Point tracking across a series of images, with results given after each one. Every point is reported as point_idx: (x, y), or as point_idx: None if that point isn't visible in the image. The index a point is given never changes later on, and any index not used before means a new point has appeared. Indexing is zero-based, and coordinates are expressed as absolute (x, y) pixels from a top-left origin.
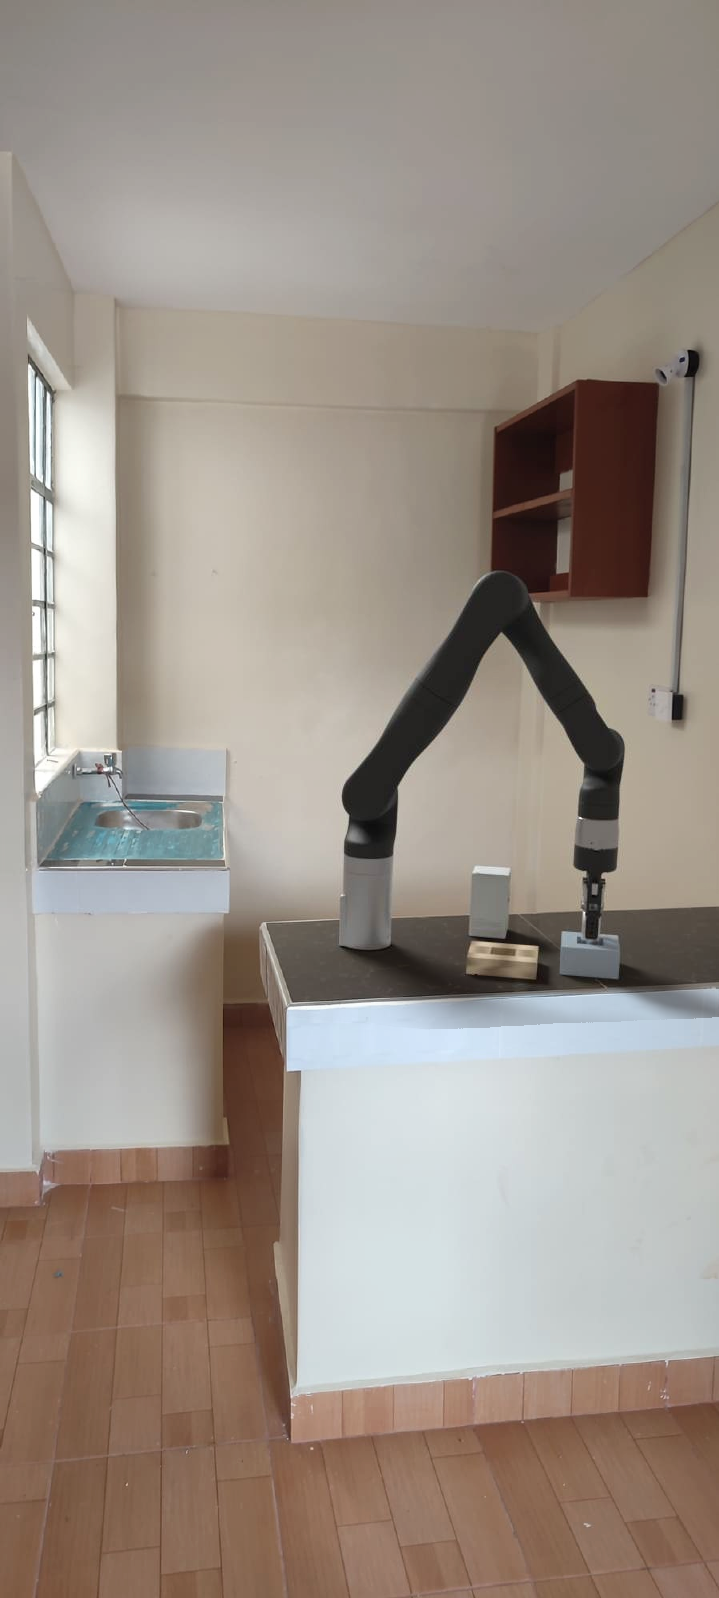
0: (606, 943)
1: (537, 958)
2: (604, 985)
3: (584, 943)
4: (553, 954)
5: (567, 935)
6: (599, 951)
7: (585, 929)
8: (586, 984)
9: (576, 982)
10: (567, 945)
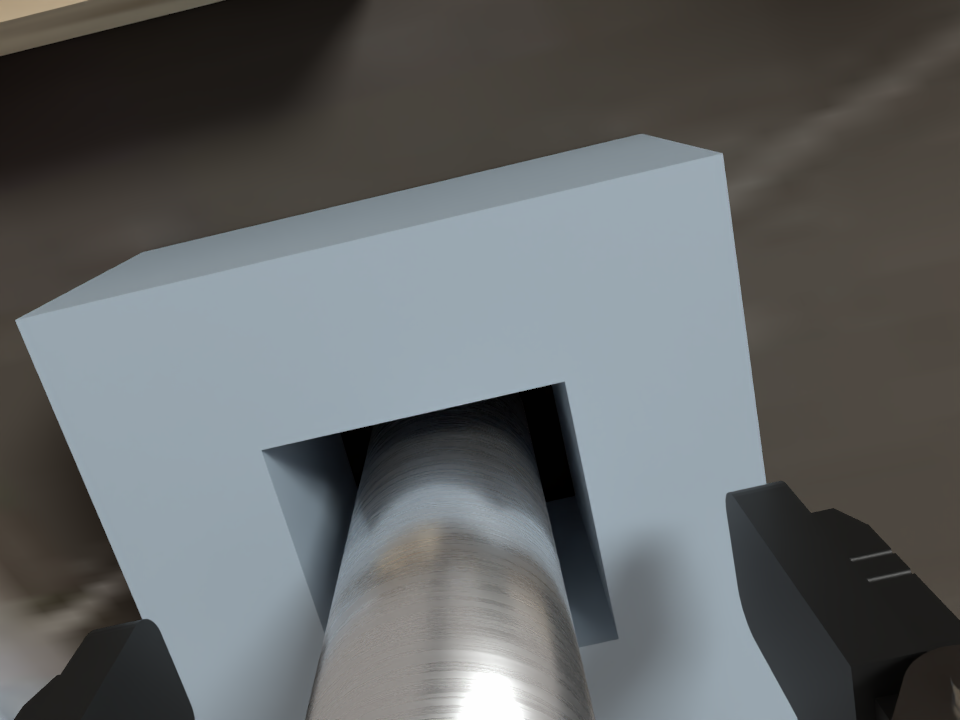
0: None
1: (80, 13)
2: (93, 610)
3: (355, 505)
4: (725, 43)
5: (547, 270)
6: None
7: (42, 705)
8: (30, 498)
9: (27, 422)
10: (117, 371)
